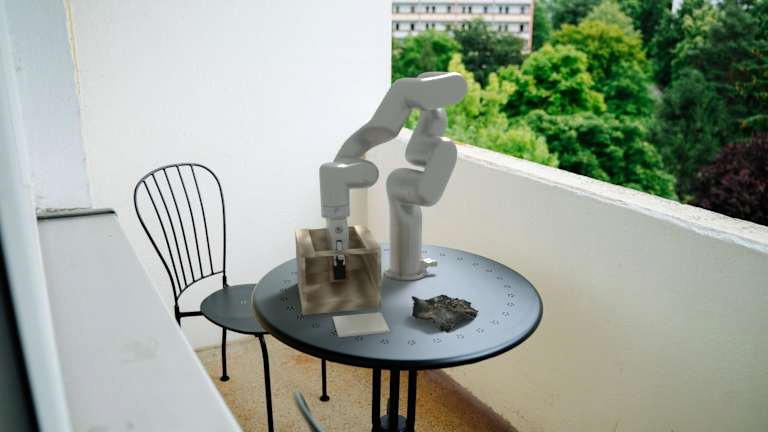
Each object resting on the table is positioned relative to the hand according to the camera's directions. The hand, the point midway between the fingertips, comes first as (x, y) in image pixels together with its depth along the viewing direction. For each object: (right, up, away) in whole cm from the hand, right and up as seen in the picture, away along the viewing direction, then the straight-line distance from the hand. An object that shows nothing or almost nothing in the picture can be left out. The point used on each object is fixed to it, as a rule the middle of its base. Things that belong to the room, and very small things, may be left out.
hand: (338, 274), depth 156 cm
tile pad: (+7, -10, -17) cm, 21 cm away
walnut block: (0, -1, 0) cm, 1 cm away
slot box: (0, -6, +1) cm, 6 cm away
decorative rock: (+27, -9, -11) cm, 31 cm away
